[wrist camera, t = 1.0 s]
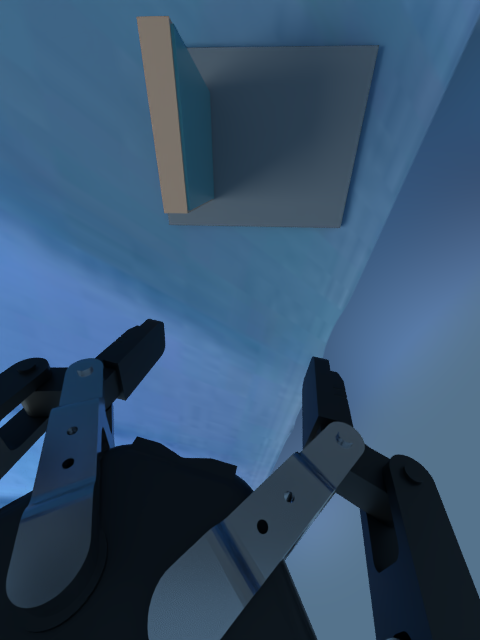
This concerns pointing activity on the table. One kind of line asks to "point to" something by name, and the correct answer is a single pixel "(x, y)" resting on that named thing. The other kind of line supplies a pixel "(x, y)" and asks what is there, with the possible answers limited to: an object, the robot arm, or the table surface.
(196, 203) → the tile
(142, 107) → the table surface
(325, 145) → the mat
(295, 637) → the robot arm
